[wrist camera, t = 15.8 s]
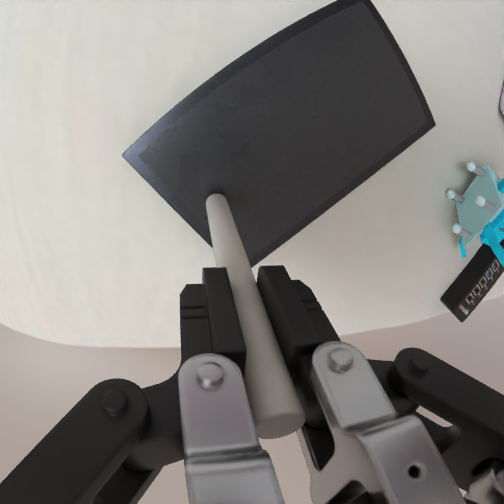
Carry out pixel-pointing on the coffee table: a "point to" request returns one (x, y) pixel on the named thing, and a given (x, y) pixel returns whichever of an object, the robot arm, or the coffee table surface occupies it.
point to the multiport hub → (473, 282)
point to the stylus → (255, 333)
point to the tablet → (287, 127)
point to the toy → (481, 210)
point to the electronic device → (502, 101)
